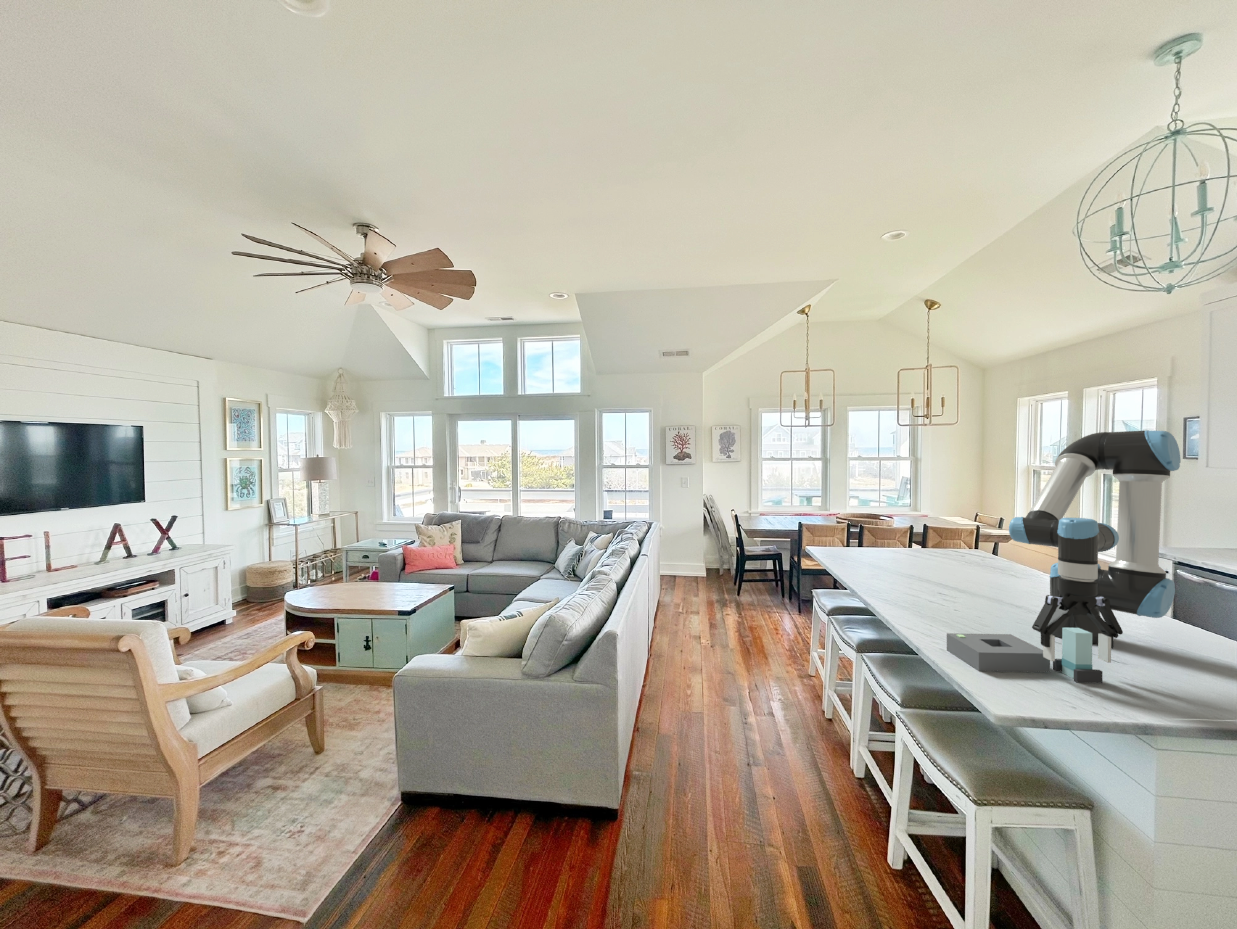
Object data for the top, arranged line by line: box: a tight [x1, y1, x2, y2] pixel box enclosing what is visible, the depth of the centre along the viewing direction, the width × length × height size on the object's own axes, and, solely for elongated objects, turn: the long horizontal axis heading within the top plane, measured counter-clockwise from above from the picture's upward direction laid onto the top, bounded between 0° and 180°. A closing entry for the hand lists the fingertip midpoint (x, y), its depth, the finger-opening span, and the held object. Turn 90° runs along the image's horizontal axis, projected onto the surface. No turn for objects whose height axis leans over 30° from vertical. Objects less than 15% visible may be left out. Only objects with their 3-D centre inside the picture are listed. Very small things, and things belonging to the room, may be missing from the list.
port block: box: [946, 632, 1051, 673], centre depth 135 cm, size 18×14×5 cm
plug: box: [1061, 628, 1093, 680], centre depth 125 cm, size 4×4×12 cm
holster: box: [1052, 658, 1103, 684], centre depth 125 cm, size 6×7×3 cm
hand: (1076, 660), depth 125 cm, fingers open, 13 cm apart
